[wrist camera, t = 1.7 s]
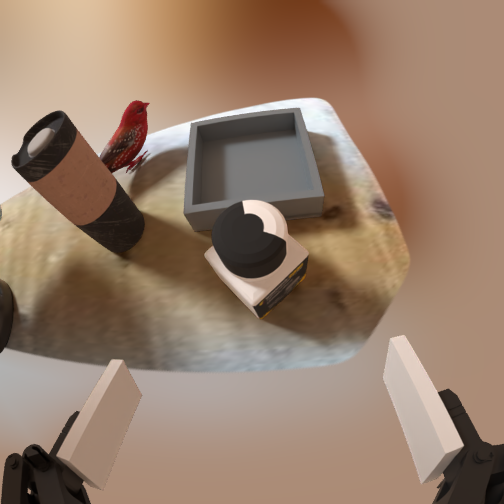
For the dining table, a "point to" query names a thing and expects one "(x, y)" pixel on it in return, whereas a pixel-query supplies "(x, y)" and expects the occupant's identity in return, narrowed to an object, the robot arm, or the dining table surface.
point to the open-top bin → (251, 166)
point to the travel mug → (78, 182)
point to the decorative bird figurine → (127, 139)
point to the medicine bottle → (256, 255)
